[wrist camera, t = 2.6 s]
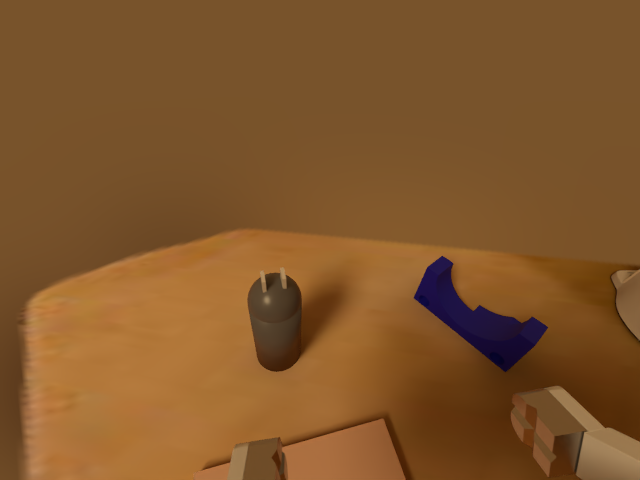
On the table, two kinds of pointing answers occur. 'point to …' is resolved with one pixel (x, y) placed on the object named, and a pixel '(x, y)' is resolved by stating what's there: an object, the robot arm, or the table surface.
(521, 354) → the blue u-shaped bracket
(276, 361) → the charger plug
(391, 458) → the board
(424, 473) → the table surface
